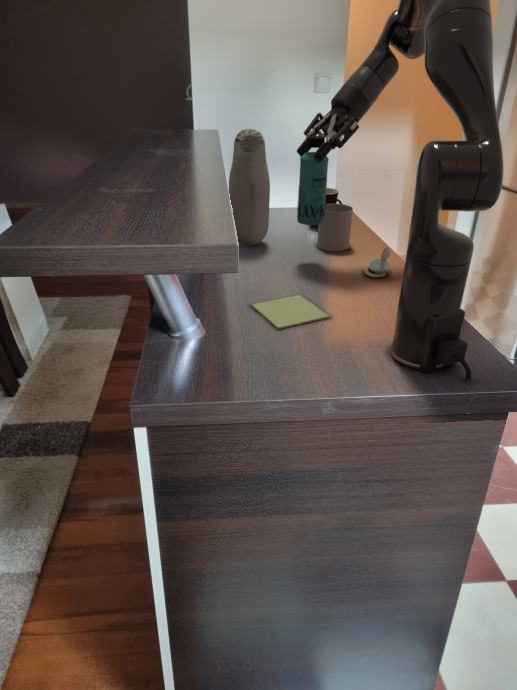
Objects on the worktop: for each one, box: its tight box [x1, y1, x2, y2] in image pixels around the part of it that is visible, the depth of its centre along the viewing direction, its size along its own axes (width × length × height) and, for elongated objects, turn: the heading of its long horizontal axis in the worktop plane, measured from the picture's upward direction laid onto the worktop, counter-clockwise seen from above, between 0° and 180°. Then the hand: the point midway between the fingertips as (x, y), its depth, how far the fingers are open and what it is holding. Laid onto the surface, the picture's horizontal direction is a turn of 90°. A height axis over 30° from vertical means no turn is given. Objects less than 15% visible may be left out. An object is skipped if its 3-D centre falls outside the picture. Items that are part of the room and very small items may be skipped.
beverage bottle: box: [296, 135, 330, 226], centre depth 115 cm, size 6×7×20 cm
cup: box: [316, 203, 354, 252], centre depth 132 cm, size 8×8×10 cm
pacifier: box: [363, 246, 393, 278], centre depth 115 cm, size 7×6×6 cm
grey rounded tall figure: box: [228, 128, 271, 246], centre depth 128 cm, size 10×10×28 cm
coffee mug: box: [309, 187, 343, 229], centre depth 147 cm, size 12×9×10 cm
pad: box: [251, 294, 330, 330], centre depth 99 cm, size 11×11×1 cm
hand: (307, 156), depth 112 cm, fingers closed on beverage bottle, 6 cm apart
